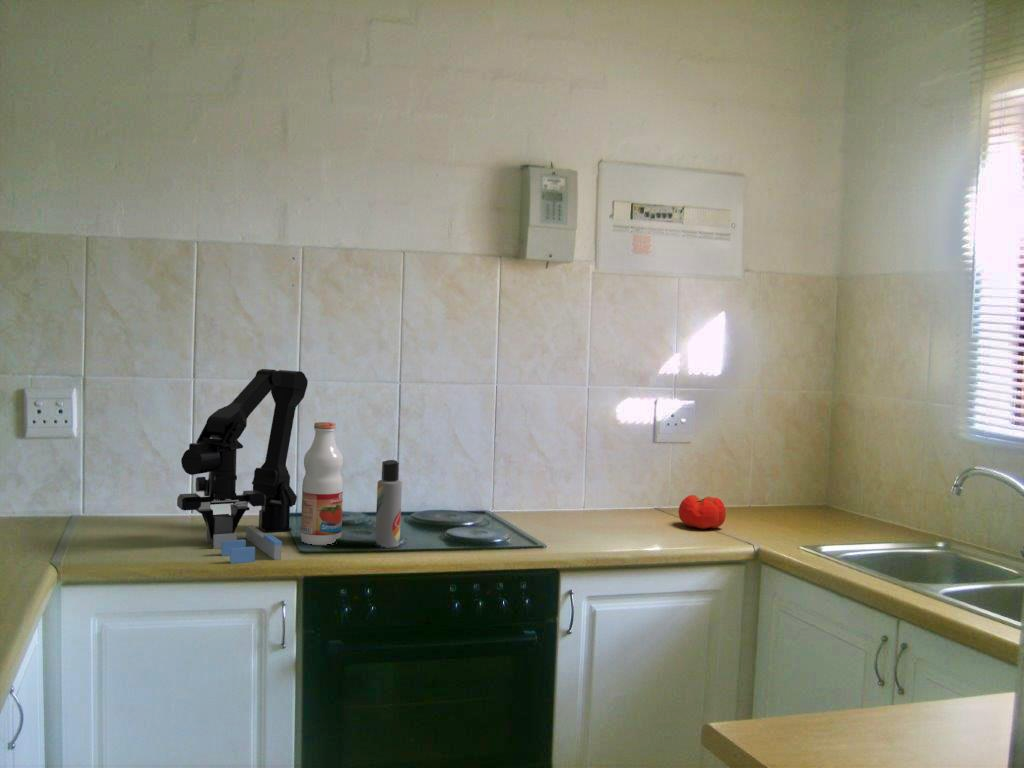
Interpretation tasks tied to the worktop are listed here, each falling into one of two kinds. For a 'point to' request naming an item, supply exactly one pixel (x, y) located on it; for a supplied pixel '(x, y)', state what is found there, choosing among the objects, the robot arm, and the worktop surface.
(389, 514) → the lotion bottle
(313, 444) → the fruit juice
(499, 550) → the worktop surface
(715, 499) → the tomato
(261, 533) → the grey and blue blocks
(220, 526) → the dark grey rectangular block
